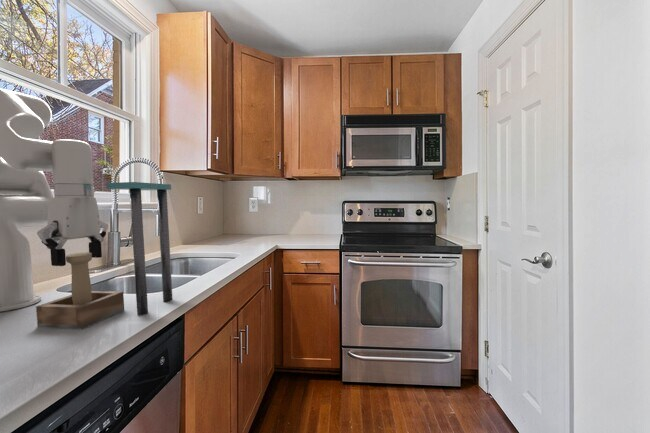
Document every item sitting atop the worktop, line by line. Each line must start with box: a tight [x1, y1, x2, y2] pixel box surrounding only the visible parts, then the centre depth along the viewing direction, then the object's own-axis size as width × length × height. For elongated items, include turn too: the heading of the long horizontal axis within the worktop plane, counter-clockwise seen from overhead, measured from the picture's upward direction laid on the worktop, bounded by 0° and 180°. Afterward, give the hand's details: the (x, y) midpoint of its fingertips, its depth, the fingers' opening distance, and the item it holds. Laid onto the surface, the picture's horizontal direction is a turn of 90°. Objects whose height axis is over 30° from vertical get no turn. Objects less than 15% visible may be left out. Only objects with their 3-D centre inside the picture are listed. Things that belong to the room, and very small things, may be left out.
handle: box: [65, 251, 93, 305], centre depth 76 cm, size 5×6×15 cm
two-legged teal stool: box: [106, 181, 173, 316], centre depth 83 cm, size 8×14×34 cm, turn 172°
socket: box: [35, 290, 125, 330], centre depth 76 cm, size 12×12×5 cm
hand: (78, 261), depth 76 cm, fingers open, 9 cm apart
